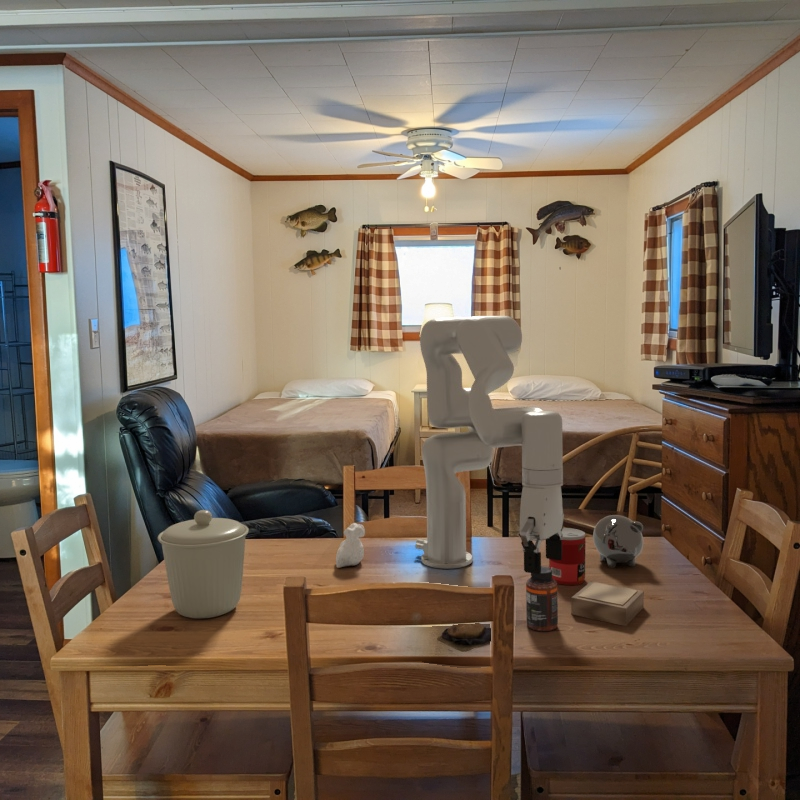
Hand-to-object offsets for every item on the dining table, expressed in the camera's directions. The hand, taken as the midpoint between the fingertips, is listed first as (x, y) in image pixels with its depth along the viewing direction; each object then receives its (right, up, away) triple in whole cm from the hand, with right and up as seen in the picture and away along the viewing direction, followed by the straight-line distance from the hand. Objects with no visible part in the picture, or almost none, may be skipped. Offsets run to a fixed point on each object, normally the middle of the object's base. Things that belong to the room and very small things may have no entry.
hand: (543, 565), depth 142 cm
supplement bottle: (0, -12, +2) cm, 12 cm away
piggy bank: (+25, -8, +38) cm, 46 cm away
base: (+15, -11, +9) cm, 20 cm away
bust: (-39, -9, +41) cm, 58 cm away
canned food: (+11, -9, +27) cm, 31 cm away
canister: (-67, -12, +14) cm, 70 cm away
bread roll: (-14, -14, -3) cm, 20 cm away
